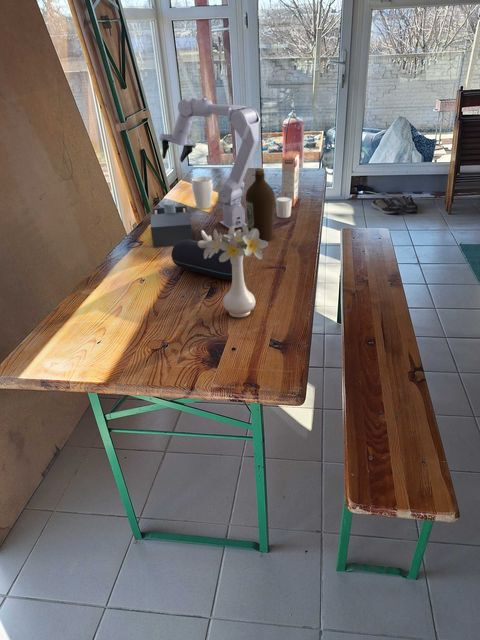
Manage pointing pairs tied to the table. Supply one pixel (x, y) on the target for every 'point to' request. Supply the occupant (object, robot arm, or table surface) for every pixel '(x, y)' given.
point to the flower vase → (235, 264)
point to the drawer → (178, 209)
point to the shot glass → (283, 207)
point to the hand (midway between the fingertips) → (172, 159)
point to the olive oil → (260, 206)
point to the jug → (169, 207)
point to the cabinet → (170, 228)
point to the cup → (202, 191)
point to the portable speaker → (200, 260)
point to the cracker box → (290, 175)
